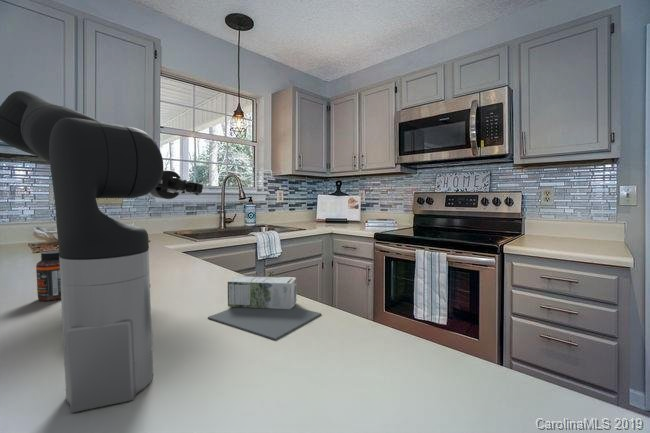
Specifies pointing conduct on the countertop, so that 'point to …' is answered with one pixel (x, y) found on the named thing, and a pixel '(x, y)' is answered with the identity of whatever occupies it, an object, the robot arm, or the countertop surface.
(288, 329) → the mat
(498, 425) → the countertop surface
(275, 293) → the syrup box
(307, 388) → the countertop surface
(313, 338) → the countertop surface
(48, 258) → the supplement bottle
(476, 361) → the countertop surface
